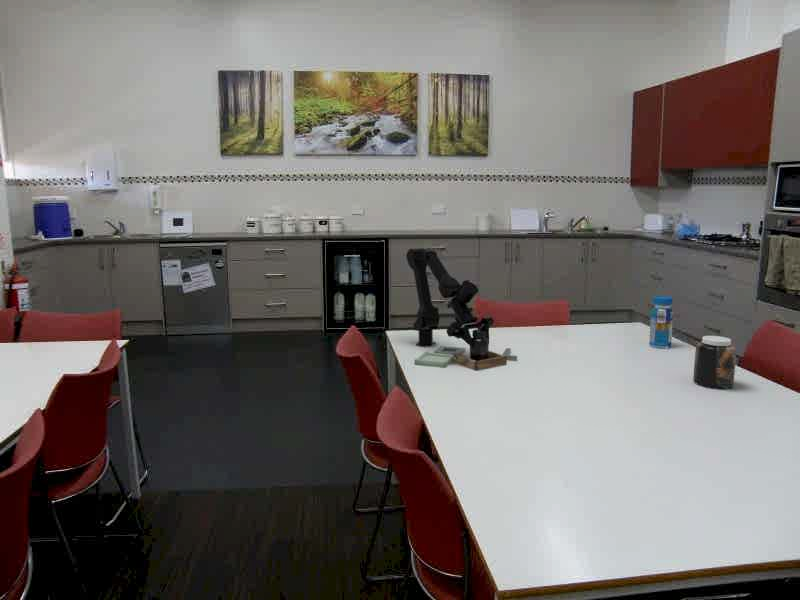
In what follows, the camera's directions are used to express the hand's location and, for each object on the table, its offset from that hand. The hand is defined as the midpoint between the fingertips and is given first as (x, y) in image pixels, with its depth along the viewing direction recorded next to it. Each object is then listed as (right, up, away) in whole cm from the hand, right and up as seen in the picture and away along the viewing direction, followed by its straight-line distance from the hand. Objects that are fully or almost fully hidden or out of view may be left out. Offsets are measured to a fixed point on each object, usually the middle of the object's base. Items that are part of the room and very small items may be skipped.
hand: (480, 345), depth 232 cm
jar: (+72, -11, -24) cm, 77 cm away
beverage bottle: (+74, -2, +25) cm, 78 cm away
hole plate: (-10, -4, +16) cm, 19 cm away
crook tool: (+13, -5, +11) cm, 17 cm away
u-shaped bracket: (0, -6, +2) cm, 7 cm away
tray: (-16, -6, +4) cm, 18 cm away
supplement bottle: (0, -7, +2) cm, 7 cm away
